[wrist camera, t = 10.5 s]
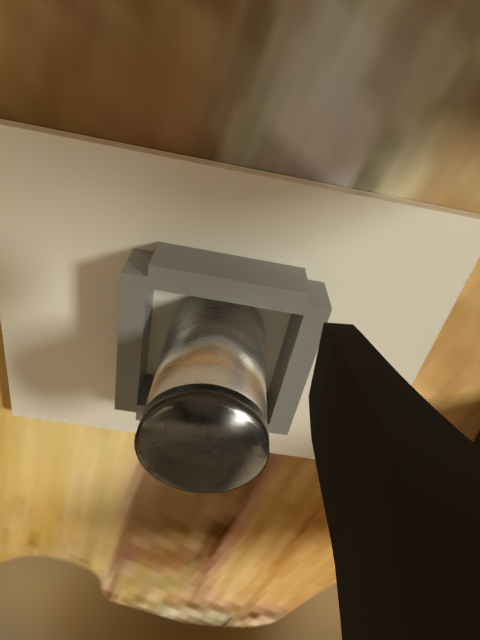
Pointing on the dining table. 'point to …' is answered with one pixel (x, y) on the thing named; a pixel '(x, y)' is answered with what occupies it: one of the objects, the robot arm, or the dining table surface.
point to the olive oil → (478, 441)
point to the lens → (207, 400)
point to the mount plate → (202, 272)
